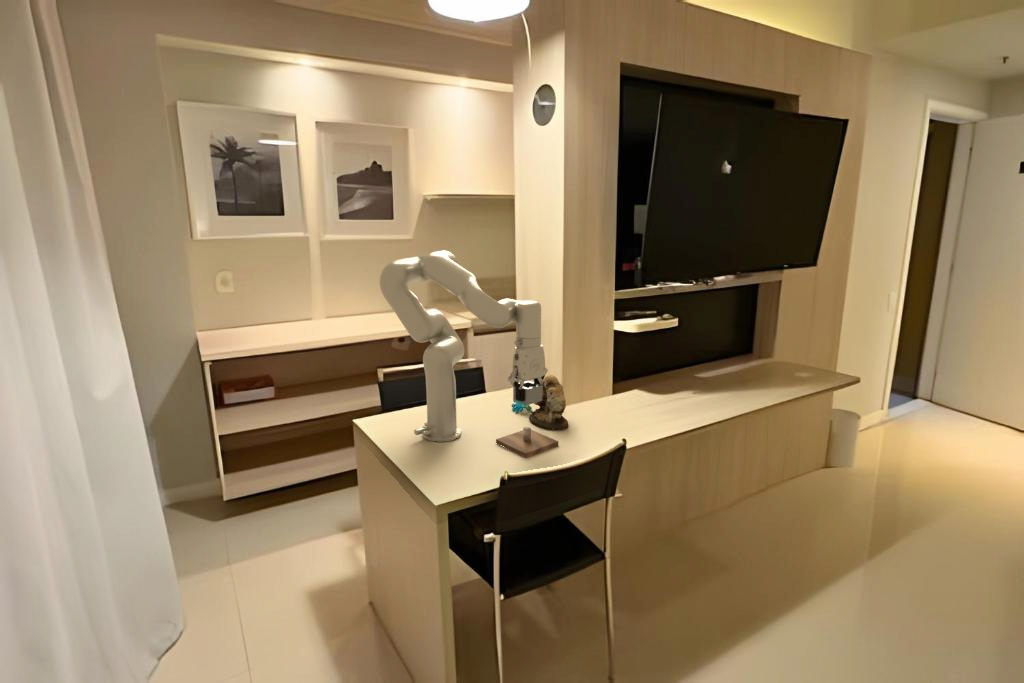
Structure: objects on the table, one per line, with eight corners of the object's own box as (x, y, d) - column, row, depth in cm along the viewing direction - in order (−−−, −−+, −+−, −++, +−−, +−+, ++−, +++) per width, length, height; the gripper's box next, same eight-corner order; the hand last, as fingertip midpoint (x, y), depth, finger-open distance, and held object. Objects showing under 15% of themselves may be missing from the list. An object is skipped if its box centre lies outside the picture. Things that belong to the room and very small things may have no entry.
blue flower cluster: (507, 402, 210) (526, 384, 209) (517, 411, 212) (536, 393, 212) (515, 416, 200) (535, 397, 199) (525, 425, 202) (545, 406, 202)
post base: (525, 458, 166) (525, 440, 165) (495, 443, 176) (495, 427, 175) (558, 445, 175) (558, 429, 174) (528, 432, 185) (528, 417, 184)
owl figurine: (519, 417, 199) (519, 371, 196) (545, 411, 206) (546, 367, 202) (549, 433, 185) (550, 384, 181) (576, 426, 191) (578, 379, 188)
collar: (527, 405, 168) (527, 389, 167) (513, 399, 173) (513, 384, 172) (542, 400, 172) (542, 385, 171) (528, 395, 177) (528, 380, 176)
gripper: (515, 348, 160) (515, 407, 164) (557, 339, 171) (556, 395, 175) (498, 344, 165) (499, 401, 169) (540, 335, 177) (539, 389, 181)
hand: (528, 397), depth 172 cm, fingers closed on collar, 6 cm apart
